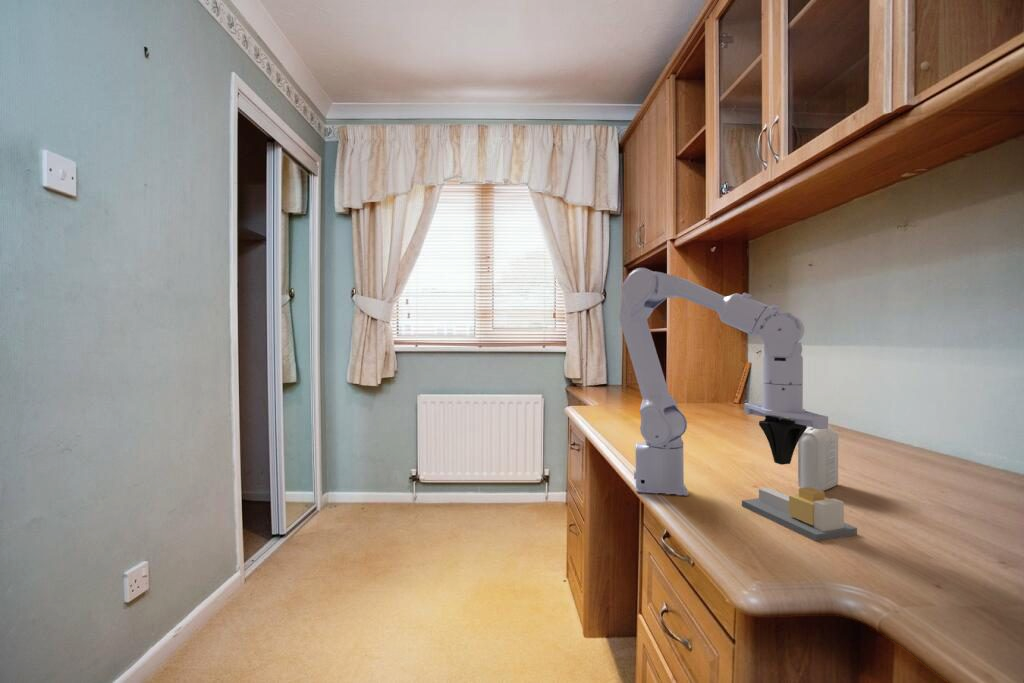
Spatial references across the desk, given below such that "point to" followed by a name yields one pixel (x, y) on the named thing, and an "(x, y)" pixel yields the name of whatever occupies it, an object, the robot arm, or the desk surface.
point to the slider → (805, 504)
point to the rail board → (825, 520)
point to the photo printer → (818, 458)
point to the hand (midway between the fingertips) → (782, 463)
